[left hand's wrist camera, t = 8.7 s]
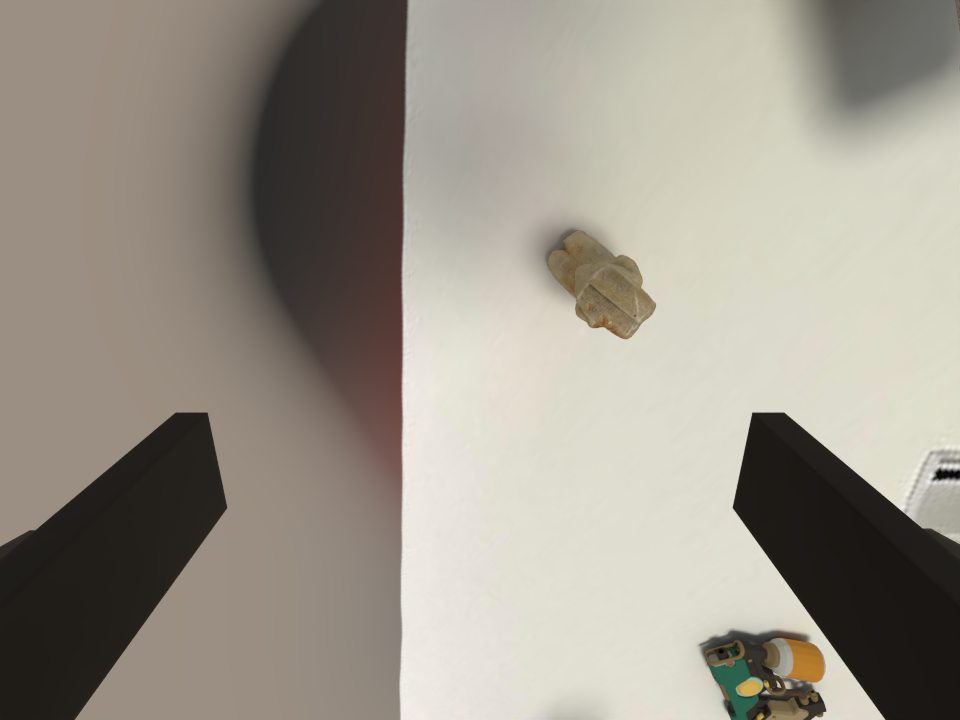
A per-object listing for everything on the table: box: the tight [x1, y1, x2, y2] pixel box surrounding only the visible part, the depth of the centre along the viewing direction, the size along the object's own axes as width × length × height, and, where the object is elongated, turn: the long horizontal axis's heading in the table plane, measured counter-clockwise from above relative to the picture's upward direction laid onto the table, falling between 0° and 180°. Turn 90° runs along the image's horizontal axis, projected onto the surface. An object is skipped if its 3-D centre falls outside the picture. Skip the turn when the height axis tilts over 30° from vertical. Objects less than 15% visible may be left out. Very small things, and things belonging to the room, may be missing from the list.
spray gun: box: [705, 638, 826, 720], centre depth 66 cm, size 4×17×15 cm
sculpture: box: [547, 231, 656, 339], centre depth 42 cm, size 6×7×15 cm
